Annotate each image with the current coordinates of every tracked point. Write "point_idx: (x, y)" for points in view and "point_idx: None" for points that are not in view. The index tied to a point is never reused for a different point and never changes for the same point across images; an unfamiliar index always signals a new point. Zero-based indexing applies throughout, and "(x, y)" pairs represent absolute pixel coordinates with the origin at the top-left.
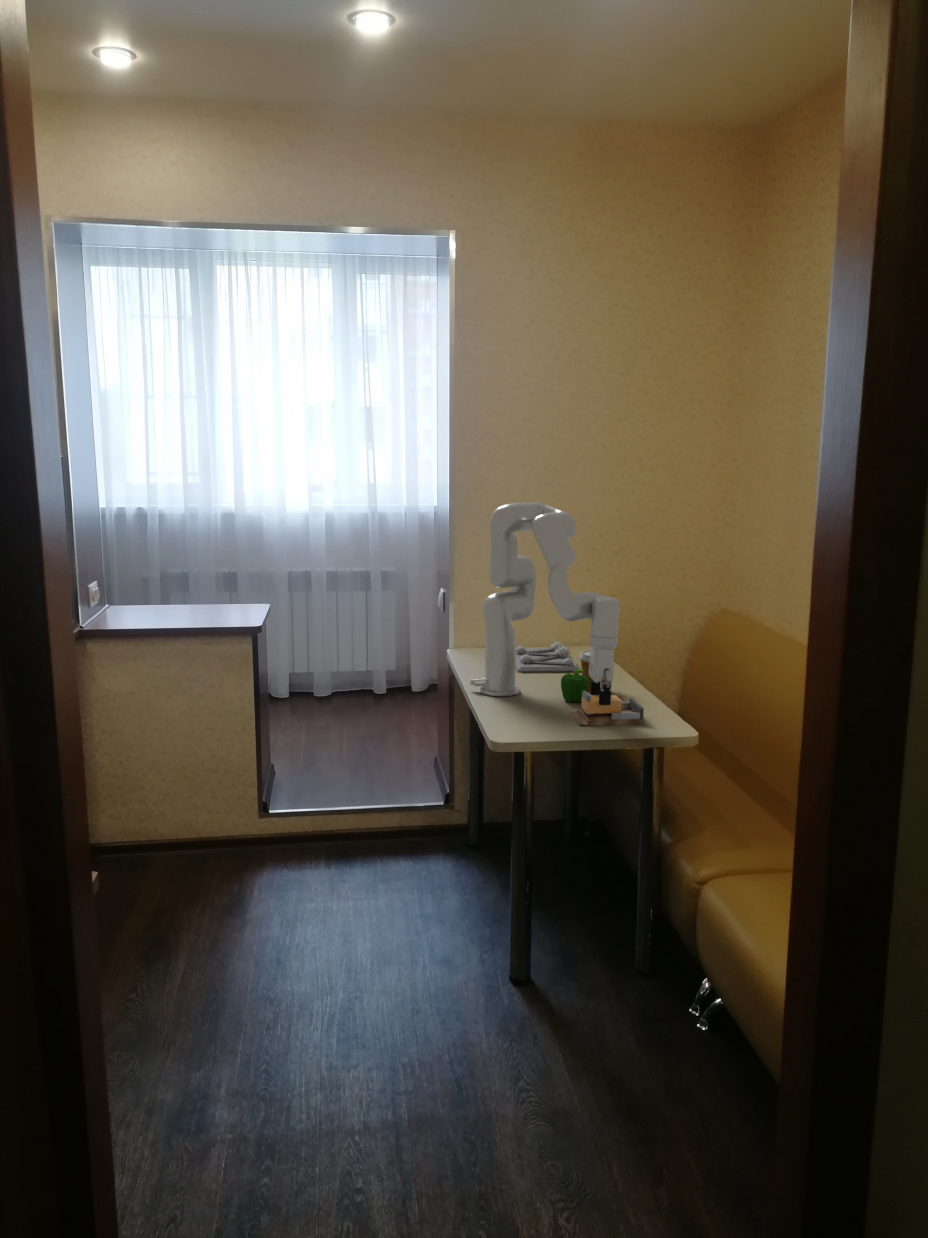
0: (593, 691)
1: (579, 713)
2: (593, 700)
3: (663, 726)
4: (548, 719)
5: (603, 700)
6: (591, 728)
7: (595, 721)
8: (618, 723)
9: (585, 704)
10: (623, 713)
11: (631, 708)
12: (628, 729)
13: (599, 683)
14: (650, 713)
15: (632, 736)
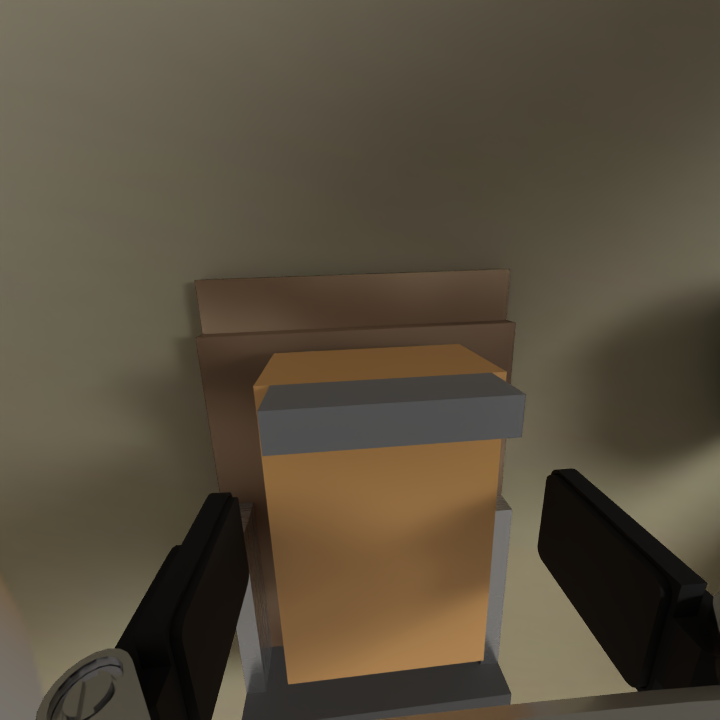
0: (569, 511)
1: (450, 322)
2: (313, 461)
3: (231, 707)
4: (385, 52)
5: (166, 565)
6: (160, 350)
7: (205, 395)
8: None
9: (324, 368)
10: None
11: None
12: (161, 556)
13: (631, 651)
14: None
15: (17, 557)
